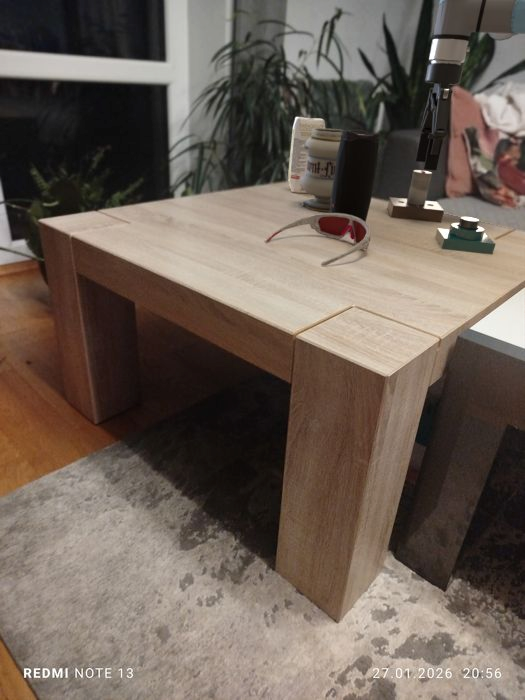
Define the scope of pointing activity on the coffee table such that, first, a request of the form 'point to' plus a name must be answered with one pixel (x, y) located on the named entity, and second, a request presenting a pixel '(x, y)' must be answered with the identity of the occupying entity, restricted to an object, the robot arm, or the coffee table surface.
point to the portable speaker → (355, 173)
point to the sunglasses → (335, 230)
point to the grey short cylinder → (468, 223)
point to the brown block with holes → (415, 210)
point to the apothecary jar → (320, 167)
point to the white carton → (300, 150)
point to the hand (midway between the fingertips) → (425, 165)
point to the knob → (419, 187)
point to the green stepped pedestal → (464, 239)
